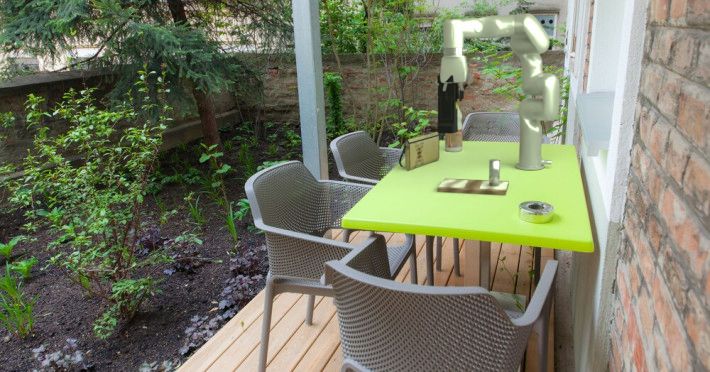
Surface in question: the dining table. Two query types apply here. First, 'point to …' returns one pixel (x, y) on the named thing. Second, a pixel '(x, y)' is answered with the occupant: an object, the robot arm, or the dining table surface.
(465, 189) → the board
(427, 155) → the clutch purse
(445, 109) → the portable radio
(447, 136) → the fruit juice
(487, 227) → the dining table surface
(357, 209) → the dining table surface
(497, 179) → the pin
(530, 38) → the robot arm
